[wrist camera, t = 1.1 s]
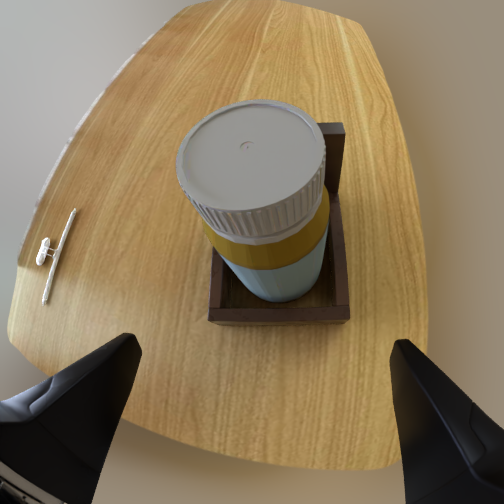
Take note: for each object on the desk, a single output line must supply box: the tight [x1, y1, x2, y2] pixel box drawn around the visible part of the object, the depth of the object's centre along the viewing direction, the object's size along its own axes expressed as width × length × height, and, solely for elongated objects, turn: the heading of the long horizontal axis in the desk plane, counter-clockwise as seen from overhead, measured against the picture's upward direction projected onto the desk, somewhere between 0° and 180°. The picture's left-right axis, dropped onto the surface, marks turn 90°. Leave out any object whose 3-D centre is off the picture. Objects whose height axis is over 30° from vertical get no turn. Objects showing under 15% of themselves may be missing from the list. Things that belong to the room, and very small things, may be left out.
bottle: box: [176, 99, 330, 303], centre depth 17 cm, size 7×7×15 cm
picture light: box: [36, 208, 76, 306], centre depth 29 cm, size 14×4×2 cm, turn 168°
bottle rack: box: [208, 123, 350, 326], centre depth 20 cm, size 12×11×10 cm
